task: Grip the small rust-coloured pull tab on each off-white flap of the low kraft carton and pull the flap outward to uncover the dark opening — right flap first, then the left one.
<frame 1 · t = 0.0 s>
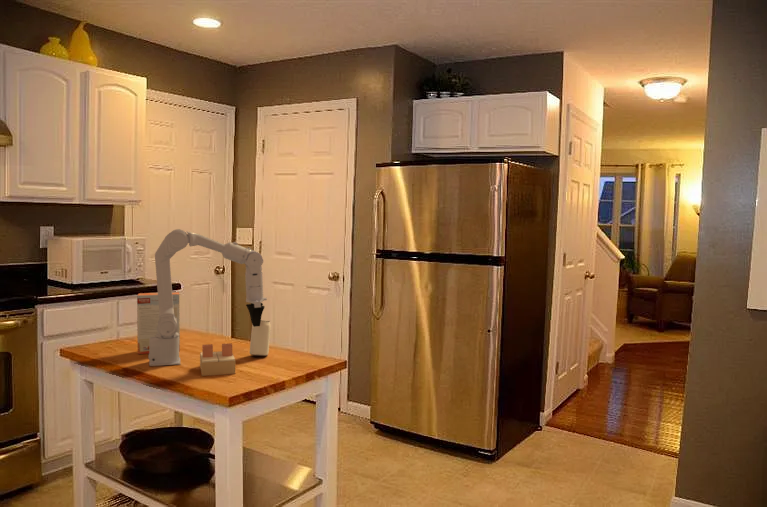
hand: (255, 325, 209), 11 cm above the countertop, tool pointing down, fingers open, 3 cm apart
carton: (217, 369, 193), on the countertop
can: (258, 355, 212), on the countertop, touching gripper
left flap: (209, 351, 192), point 6 cm above the countertop, slide at 0.0 cm
right flap: (225, 350, 193), point 6 cm above the countertop, slide at 0.0 cm
cracker box: (158, 352, 215), on the countertop
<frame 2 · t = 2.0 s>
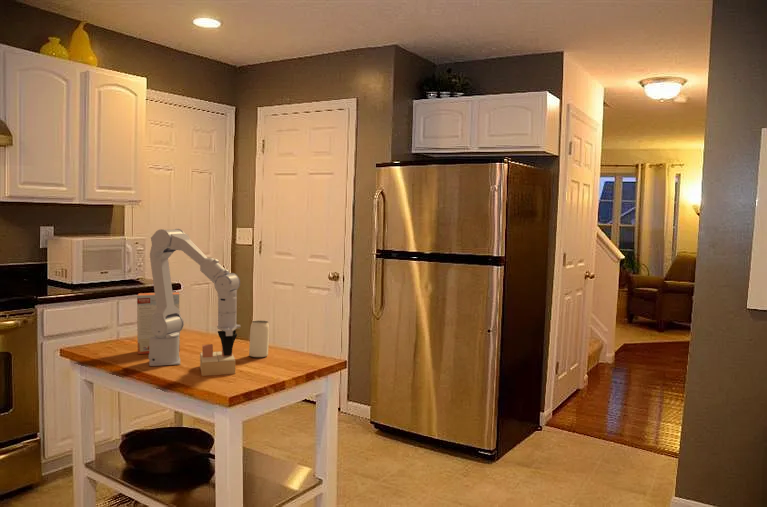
hand: (227, 354, 194), 5 cm above the countertop, tool pointing down, fingers closed on right flap, 2 cm apart
can: (258, 356, 212), on the countertop
right flap: (225, 350, 193), point 6 cm above the countertop, slide at 0.0 cm, touching gripper
everything else where it was.
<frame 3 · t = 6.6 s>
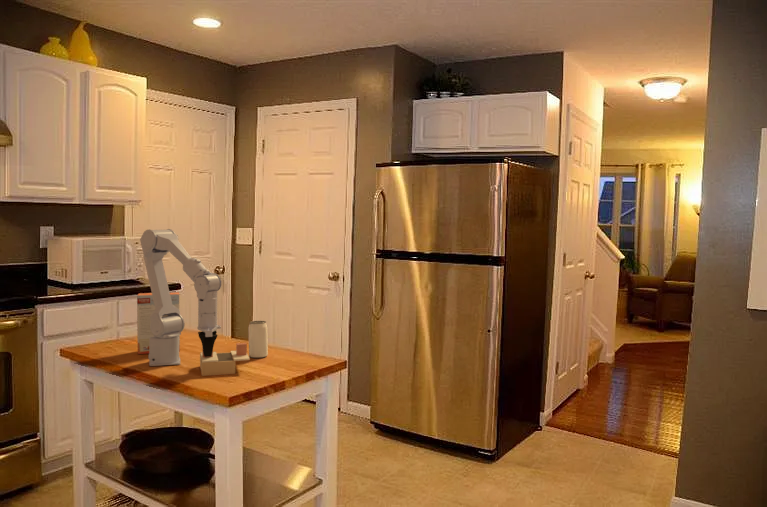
hand: (207, 355, 192), 5 cm above the countertop, tool pointing down, fingers closed on left flap, 2 cm apart
left flap: (209, 351, 192), point 6 cm above the countertop, slide at 0.0 cm, touching gripper
right flap: (239, 349, 195), point 6 cm above the countertop, slide at 4.5 cm
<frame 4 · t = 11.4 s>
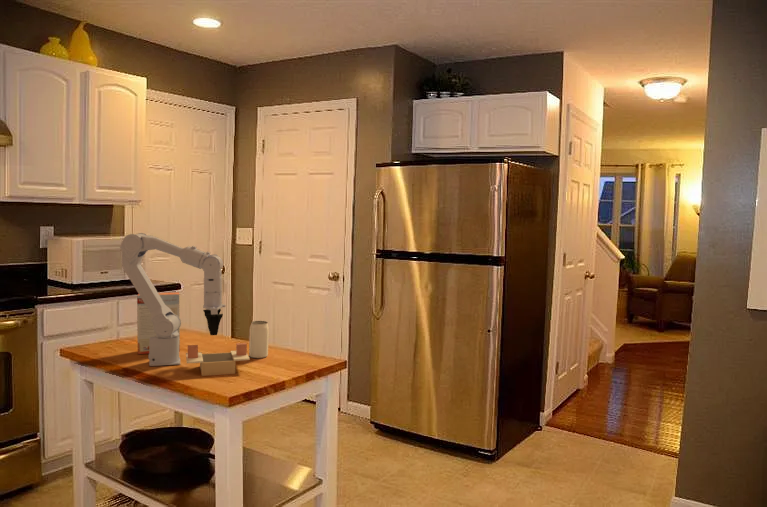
hand: (212, 332, 201), 10 cm above the countertop, tool pointing down, fingers open, 7 cm apart
left flap: (194, 352, 190), point 6 cm above the countertop, slide at 4.5 cm
everything else where it was.
at the end: right flap slide at 4.5 cm; left flap slide at 4.5 cm; the gripper is holding nothing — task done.
